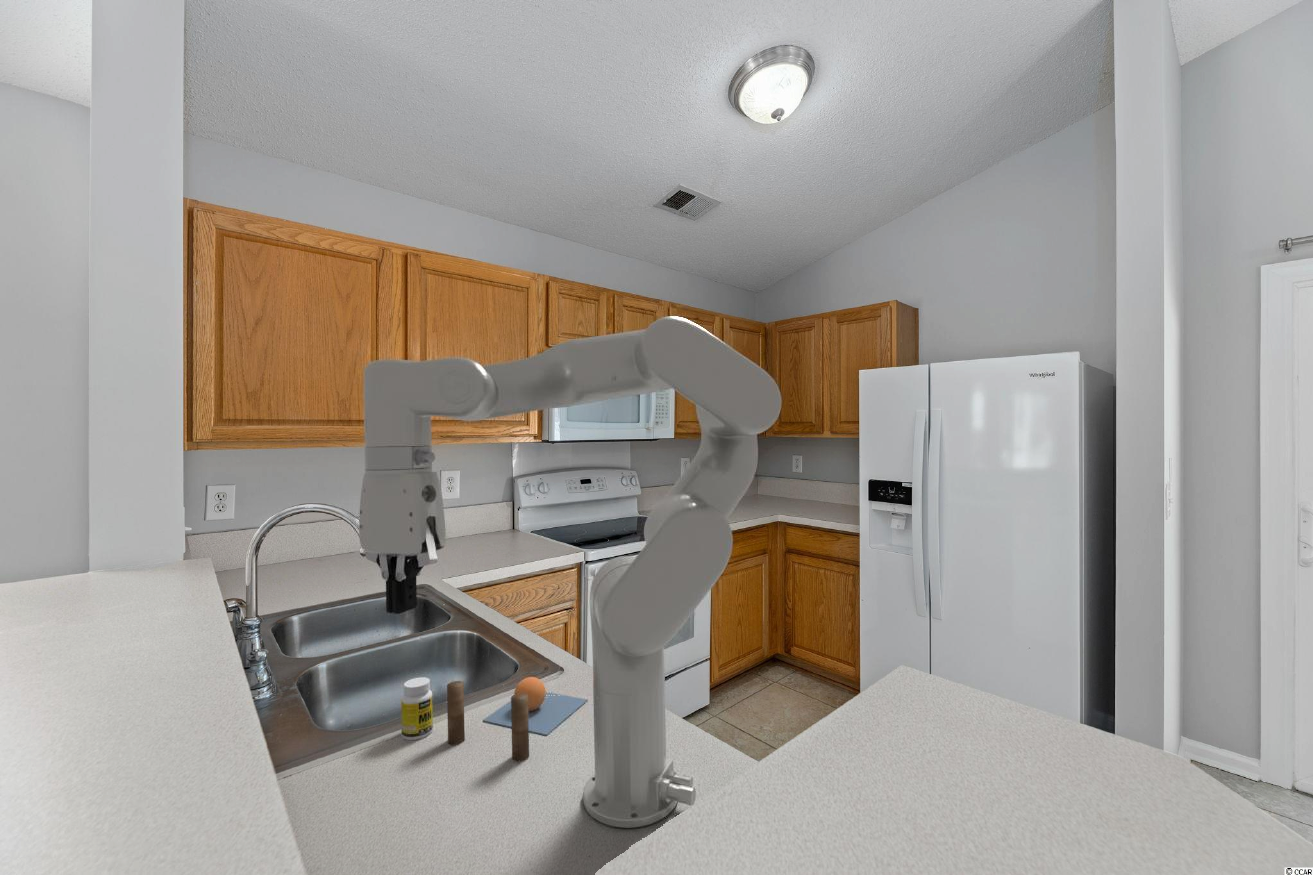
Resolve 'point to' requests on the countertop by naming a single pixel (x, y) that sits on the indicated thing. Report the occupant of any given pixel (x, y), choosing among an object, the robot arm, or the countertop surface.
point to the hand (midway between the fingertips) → (401, 609)
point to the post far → (455, 712)
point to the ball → (532, 691)
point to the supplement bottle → (417, 709)
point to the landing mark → (541, 713)
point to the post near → (520, 727)
